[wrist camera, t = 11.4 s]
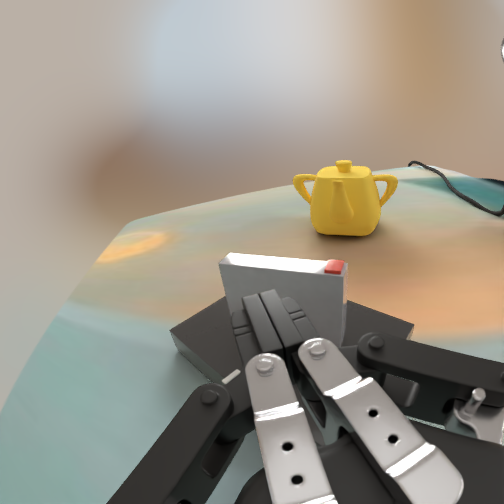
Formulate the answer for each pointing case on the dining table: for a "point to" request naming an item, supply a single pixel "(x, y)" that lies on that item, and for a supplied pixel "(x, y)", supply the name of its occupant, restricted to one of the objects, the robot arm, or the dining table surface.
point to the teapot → (345, 198)
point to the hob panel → (227, 356)
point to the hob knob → (292, 287)
